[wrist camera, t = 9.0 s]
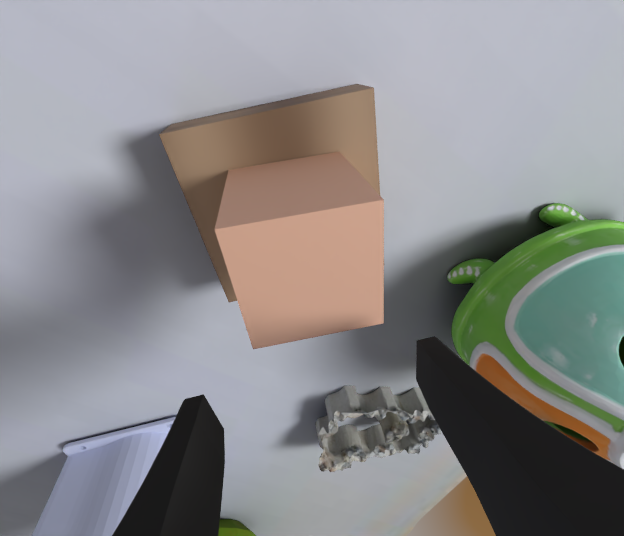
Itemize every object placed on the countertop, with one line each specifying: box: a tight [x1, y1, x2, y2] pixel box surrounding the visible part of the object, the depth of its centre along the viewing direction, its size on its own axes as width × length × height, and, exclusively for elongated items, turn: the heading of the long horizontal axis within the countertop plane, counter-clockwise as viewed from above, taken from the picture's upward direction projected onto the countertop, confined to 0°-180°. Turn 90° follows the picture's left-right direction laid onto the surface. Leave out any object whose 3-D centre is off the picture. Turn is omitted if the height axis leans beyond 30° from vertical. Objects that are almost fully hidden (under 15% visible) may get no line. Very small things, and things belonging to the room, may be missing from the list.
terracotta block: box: [214, 151, 384, 349], centre depth 13 cm, size 5×5×6 cm
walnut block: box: [159, 84, 380, 302], centre depth 17 cm, size 9×9×3 cm
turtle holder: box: [447, 203, 624, 469], centre depth 19 cm, size 12×18×12 cm
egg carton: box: [315, 386, 441, 472], centre depth 29 cm, size 11×8×4 cm
